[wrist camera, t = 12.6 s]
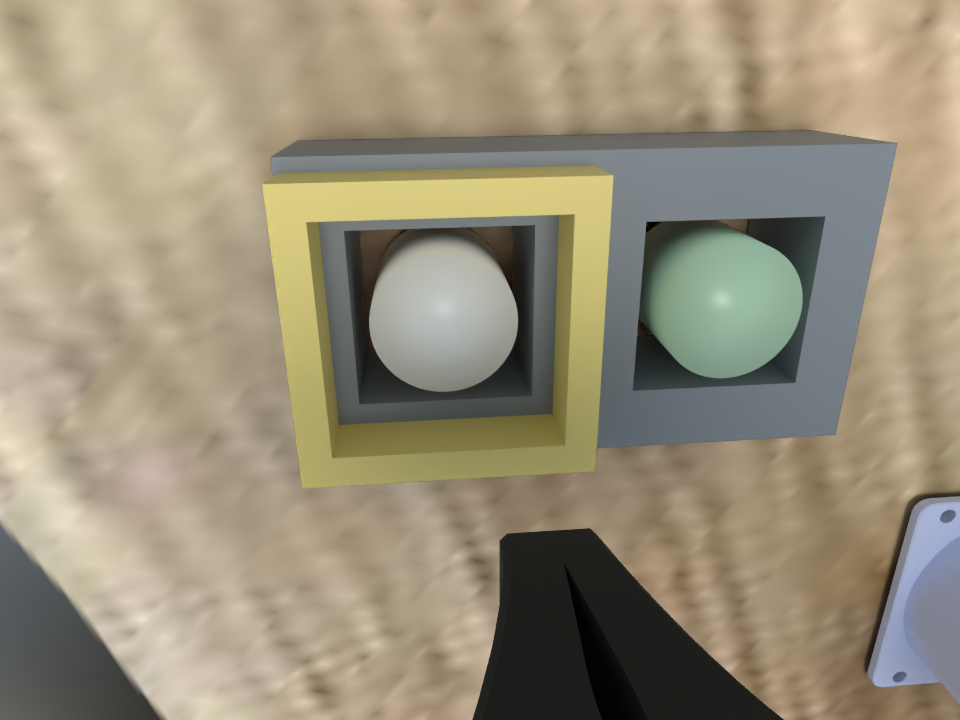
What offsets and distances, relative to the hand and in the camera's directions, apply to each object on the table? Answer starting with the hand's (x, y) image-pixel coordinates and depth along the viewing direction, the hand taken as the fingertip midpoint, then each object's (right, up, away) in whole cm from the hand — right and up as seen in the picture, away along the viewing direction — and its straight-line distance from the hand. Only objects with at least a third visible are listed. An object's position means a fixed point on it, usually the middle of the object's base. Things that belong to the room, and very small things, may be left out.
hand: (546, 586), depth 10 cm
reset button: (-2, +5, +7) cm, 9 cm away
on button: (+4, +6, +8) cm, 11 cm away
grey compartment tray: (+1, +6, +8) cm, 10 cm away
